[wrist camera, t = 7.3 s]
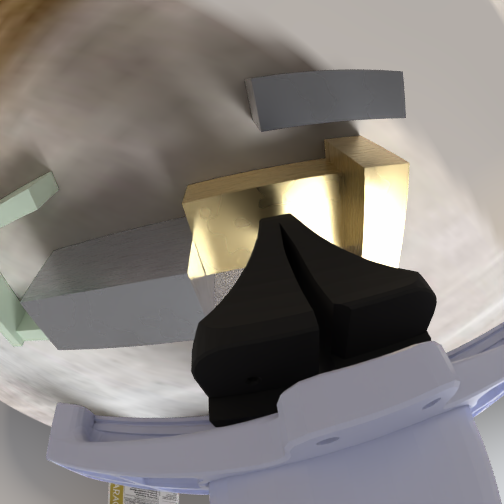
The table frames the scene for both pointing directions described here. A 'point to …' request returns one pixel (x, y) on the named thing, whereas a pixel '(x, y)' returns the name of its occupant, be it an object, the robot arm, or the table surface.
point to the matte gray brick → (123, 289)
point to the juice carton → (139, 496)
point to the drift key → (306, 204)
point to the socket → (325, 97)
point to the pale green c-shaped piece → (3, 299)
